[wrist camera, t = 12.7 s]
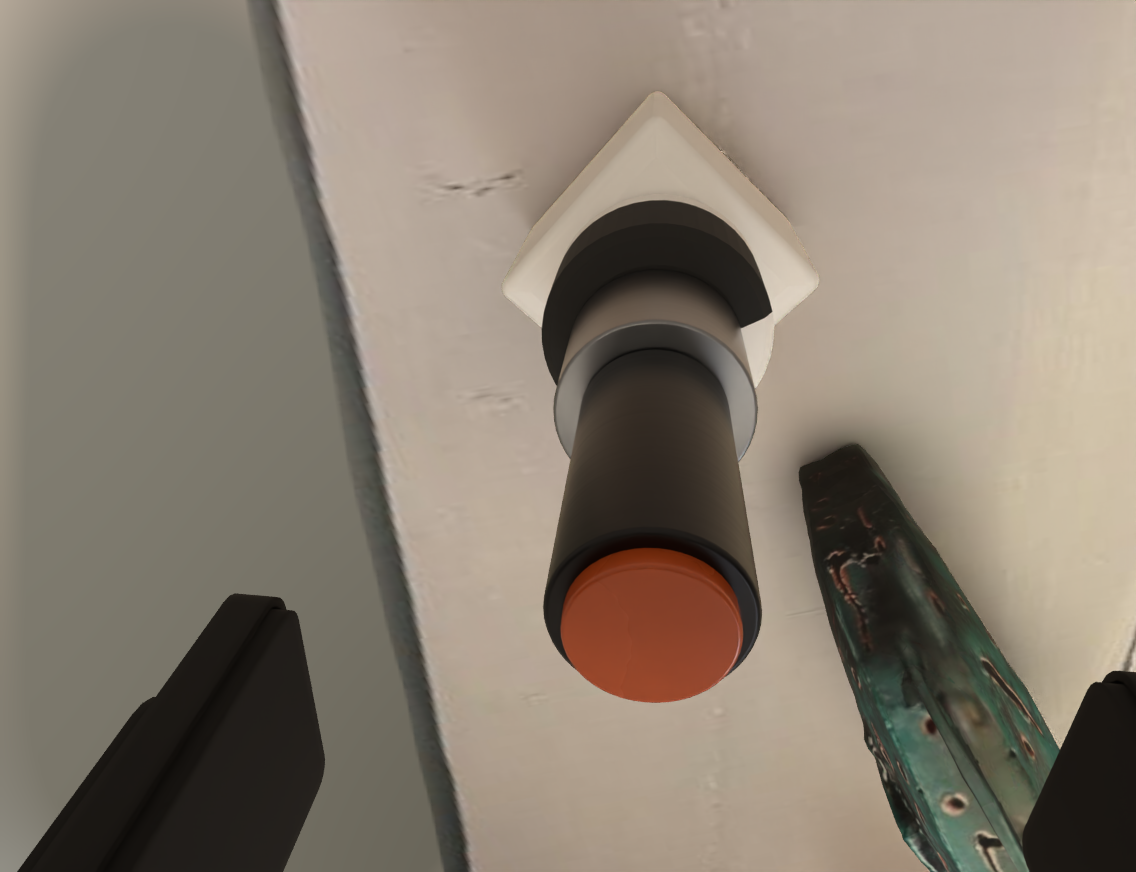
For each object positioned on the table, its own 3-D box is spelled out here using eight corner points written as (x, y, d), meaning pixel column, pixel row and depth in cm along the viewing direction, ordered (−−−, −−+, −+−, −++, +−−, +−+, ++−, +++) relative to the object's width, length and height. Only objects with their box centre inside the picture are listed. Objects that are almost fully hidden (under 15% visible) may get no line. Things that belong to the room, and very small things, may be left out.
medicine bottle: (527, 232, 32) (461, 352, 21) (657, 85, 29) (654, 140, 18) (658, 350, 33) (657, 515, 23) (793, 223, 30) (862, 346, 20)
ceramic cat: (1053, 712, 41) (1351, 1256, 23) (927, 753, 43) (1112, 1279, 25) (886, 407, 34) (1131, 856, 16) (745, 475, 36) (827, 935, 18)
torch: (570, 264, 20) (493, 498, 11) (754, 273, 19) (836, 522, 10) (567, 424, 22) (501, 732, 13) (732, 434, 22) (784, 759, 12)
